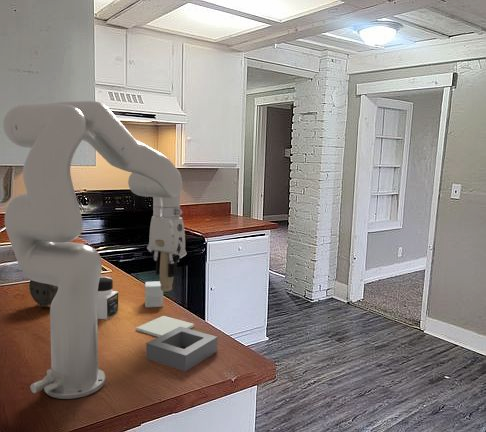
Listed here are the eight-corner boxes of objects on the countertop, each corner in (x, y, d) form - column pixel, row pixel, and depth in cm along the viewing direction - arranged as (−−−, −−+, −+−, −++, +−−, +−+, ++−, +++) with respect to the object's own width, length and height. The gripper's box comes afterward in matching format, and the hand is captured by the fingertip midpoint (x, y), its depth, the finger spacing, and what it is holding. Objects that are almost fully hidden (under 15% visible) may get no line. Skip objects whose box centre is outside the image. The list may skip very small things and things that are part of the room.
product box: (163, 307, 150) (163, 286, 149) (144, 308, 148) (144, 286, 147) (162, 301, 156) (163, 280, 155) (145, 302, 154) (145, 281, 153)
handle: (152, 289, 131) (153, 238, 129) (173, 286, 134) (174, 237, 132) (158, 293, 126) (158, 241, 124) (179, 291, 130) (180, 240, 128)
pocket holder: (185, 371, 106) (185, 355, 105) (146, 358, 112) (146, 343, 111) (217, 351, 117) (217, 336, 117) (179, 340, 123) (180, 326, 123)
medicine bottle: (107, 320, 136) (107, 282, 135) (86, 318, 138) (85, 280, 136) (118, 312, 143) (118, 276, 142) (98, 310, 145) (97, 274, 143)
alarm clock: (64, 308, 146) (63, 259, 143) (51, 313, 141) (49, 263, 139) (40, 302, 150) (38, 255, 148) (26, 307, 145) (24, 258, 143)
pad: (168, 339, 123) (168, 337, 123) (135, 330, 129) (135, 327, 129) (194, 326, 134) (194, 323, 134) (163, 318, 140) (163, 315, 140)
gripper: (198, 213, 126) (197, 276, 128) (153, 208, 134) (153, 267, 137) (181, 216, 120) (180, 282, 122) (135, 210, 128) (135, 273, 130)
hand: (166, 274), depth 129 cm, fingers closed on handle, 4 cm apart
